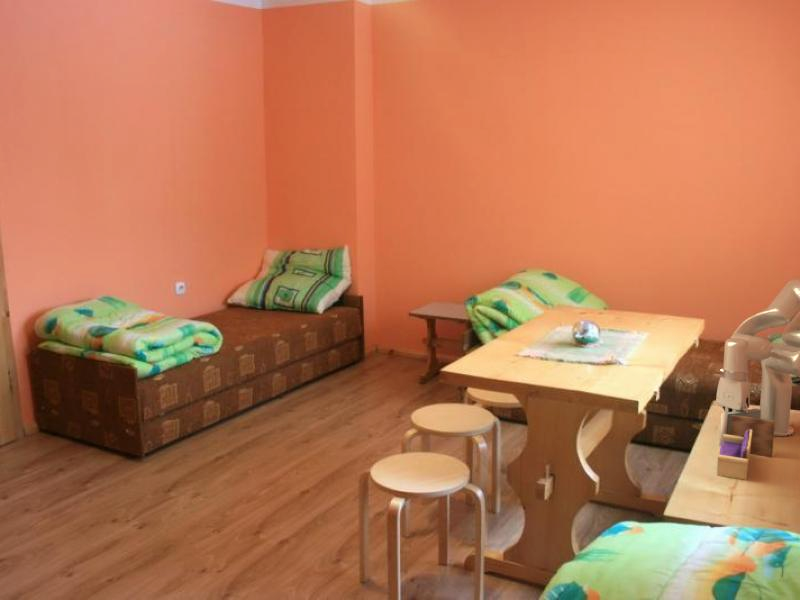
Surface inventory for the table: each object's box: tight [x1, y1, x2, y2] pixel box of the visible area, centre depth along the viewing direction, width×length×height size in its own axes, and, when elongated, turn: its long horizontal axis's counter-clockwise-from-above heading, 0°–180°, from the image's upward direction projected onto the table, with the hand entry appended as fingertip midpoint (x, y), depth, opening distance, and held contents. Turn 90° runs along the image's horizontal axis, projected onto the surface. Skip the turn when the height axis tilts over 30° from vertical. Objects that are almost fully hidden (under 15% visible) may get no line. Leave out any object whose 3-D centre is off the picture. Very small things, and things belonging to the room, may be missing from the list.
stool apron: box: [731, 415, 775, 458], centre depth 233 cm, size 12×2×12 cm, turn 60°
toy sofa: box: [716, 429, 752, 480], centre depth 224 cm, size 21×9×10 cm, turn 152°
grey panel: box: [719, 408, 761, 446], centre depth 242 cm, size 2×15×11 cm, turn 106°
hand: (731, 426), depth 246 cm, fingers closed
